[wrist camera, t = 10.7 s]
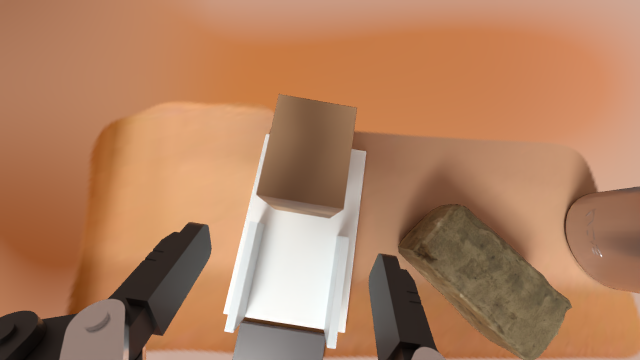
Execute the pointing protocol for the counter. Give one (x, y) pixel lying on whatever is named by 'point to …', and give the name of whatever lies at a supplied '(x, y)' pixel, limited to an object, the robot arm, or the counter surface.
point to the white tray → (293, 275)
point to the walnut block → (308, 157)
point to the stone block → (486, 280)
